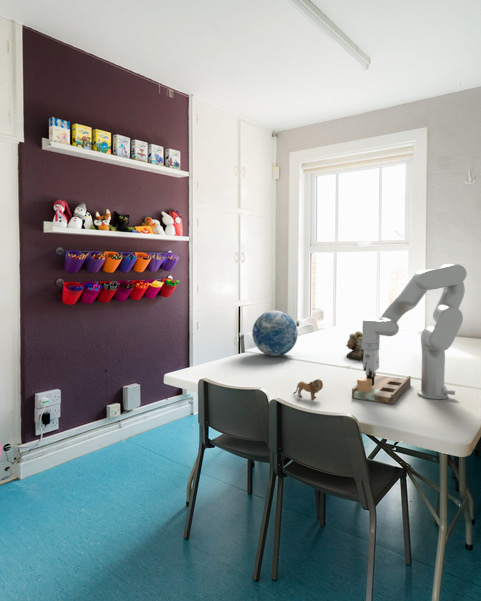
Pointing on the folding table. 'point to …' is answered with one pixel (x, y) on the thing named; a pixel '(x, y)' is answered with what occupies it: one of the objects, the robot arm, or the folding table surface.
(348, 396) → the folding table surface
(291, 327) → the globe
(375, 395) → the box
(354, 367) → the folding table surface
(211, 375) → the folding table surface
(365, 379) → the block
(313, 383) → the lion figurine
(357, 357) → the brown lumpy sculpture
